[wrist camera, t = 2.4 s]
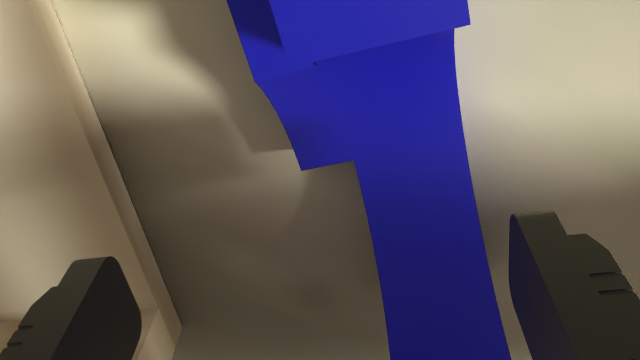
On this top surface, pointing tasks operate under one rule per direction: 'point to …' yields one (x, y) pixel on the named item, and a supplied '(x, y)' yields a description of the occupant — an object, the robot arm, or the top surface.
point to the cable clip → (388, 152)
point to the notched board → (63, 183)
